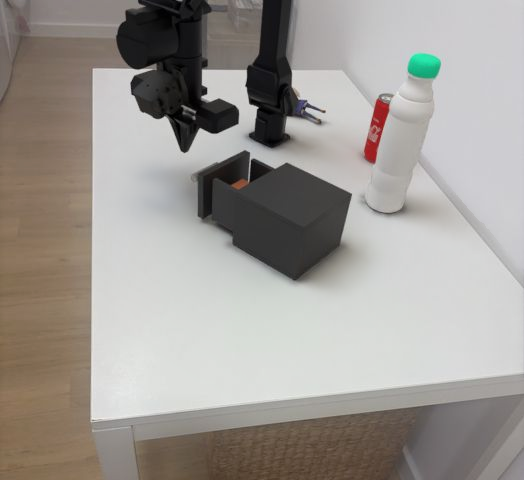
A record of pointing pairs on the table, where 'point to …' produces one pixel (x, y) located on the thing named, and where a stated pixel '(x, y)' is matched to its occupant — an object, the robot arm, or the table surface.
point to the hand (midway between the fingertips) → (184, 151)
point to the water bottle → (403, 135)
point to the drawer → (225, 186)
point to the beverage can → (377, 126)
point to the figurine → (302, 106)
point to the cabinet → (289, 219)
